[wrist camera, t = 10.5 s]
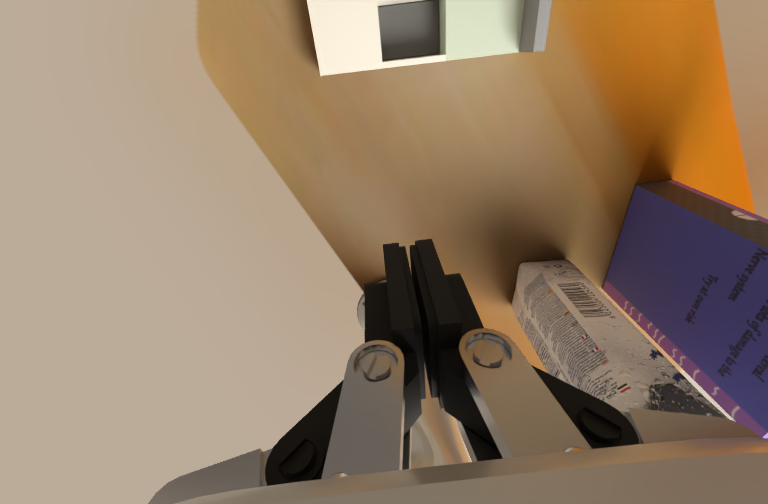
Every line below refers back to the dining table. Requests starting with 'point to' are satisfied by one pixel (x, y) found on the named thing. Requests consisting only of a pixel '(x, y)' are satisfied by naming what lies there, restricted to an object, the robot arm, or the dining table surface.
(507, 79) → the dining table surface
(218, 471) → the robot arm
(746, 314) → the blue rectangular box
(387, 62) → the tray
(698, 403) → the juice carton
